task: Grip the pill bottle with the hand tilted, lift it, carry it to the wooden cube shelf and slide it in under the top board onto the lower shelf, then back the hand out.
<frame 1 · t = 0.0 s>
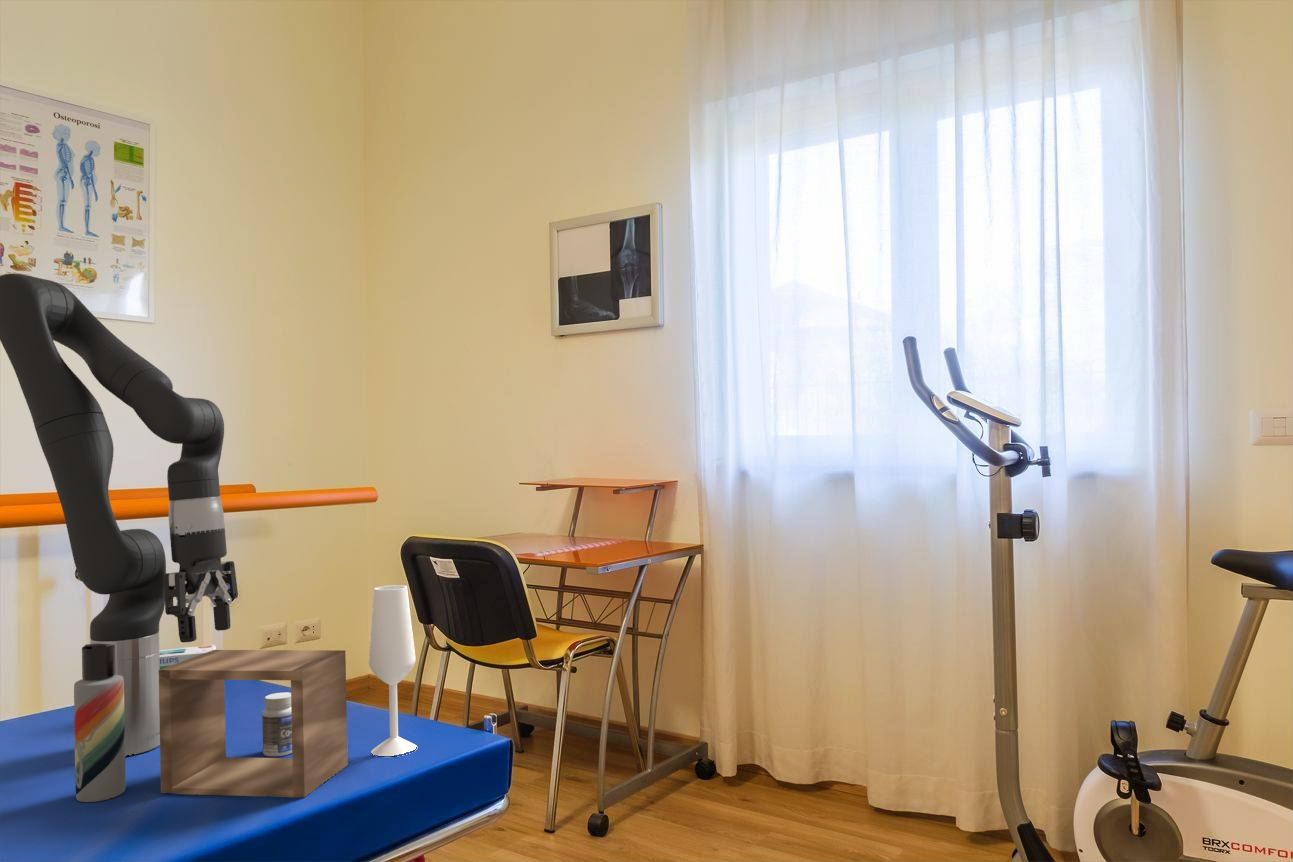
hand: (206, 635, 139), 17 cm above the table, tool pointing down, fingers open, 8 cm apart
light bulb box: (182, 714, 160), on the table
lotion bottle: (101, 796, 122), on the table
champagne flute: (394, 751, 137), on the table
pill bottle: (280, 753, 137), on the table
wooden cube shelf: (257, 778, 126), on the table
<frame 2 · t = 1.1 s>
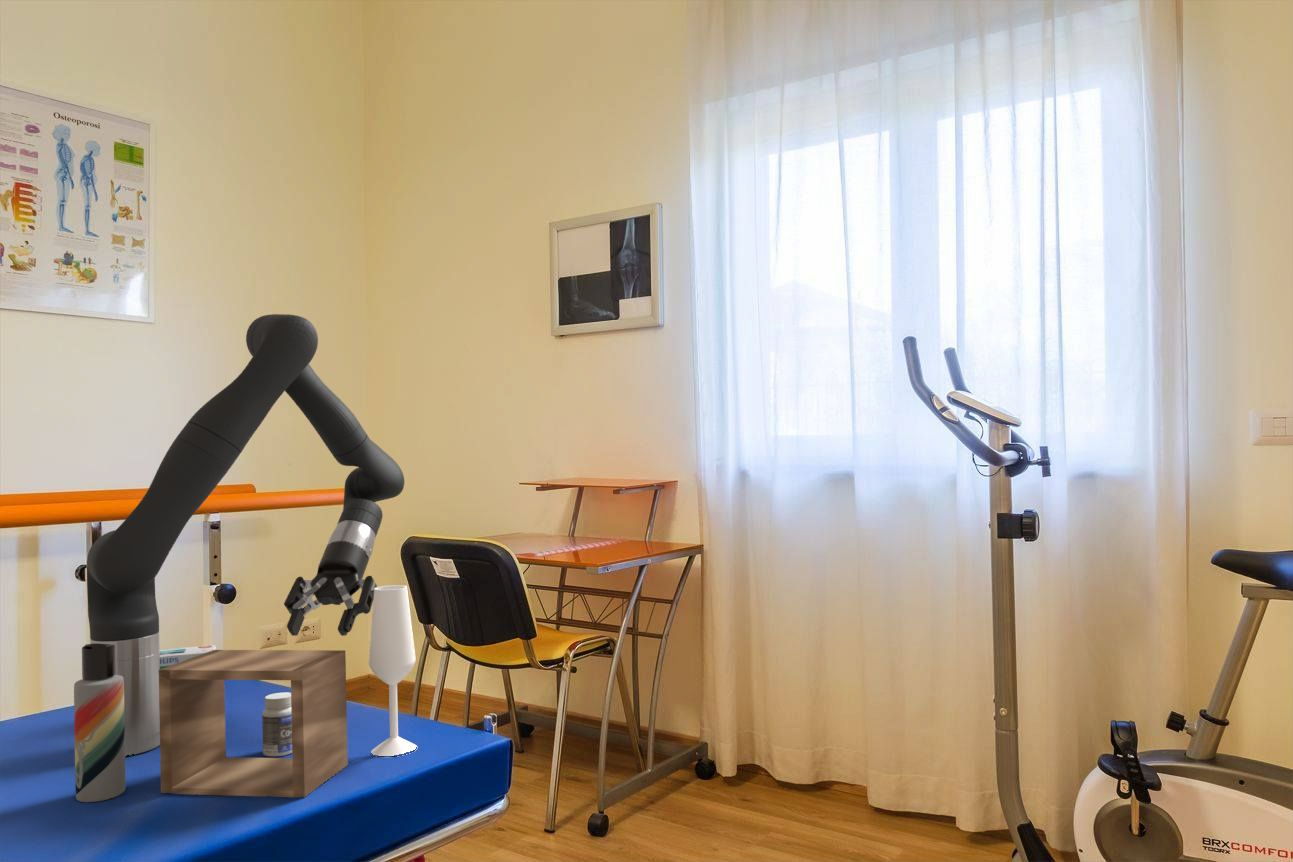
hand: (317, 633, 149), 15 cm above the table, tool tilted 45°, fingers open, 8 cm apart
nothing on the table moved.
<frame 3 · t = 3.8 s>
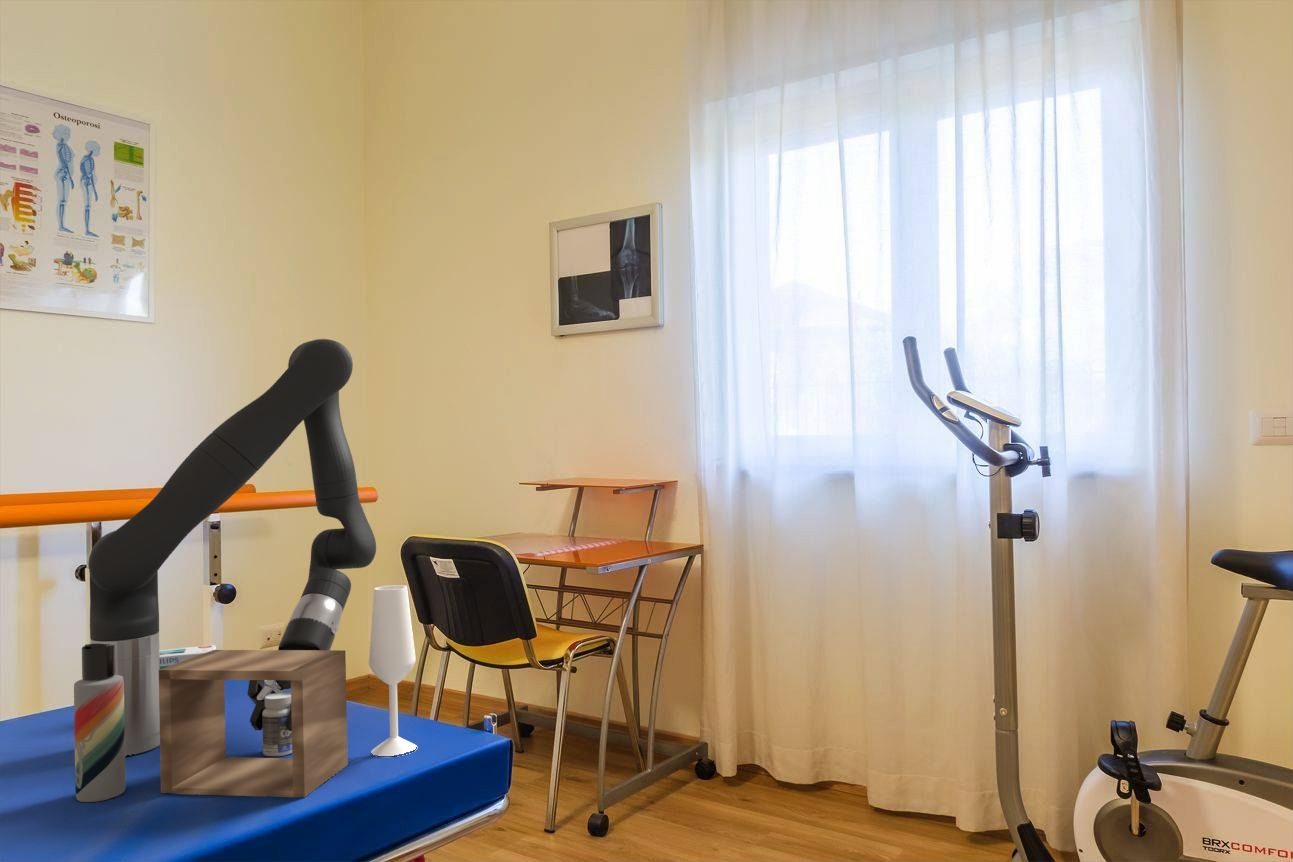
hand: (272, 727, 135), 4 cm above the table, tool tilted 45°, fingers closed on pill bottle, 4 cm apart
pill bottle: (280, 753, 137), on the table, touching gripper
everything else where it was.
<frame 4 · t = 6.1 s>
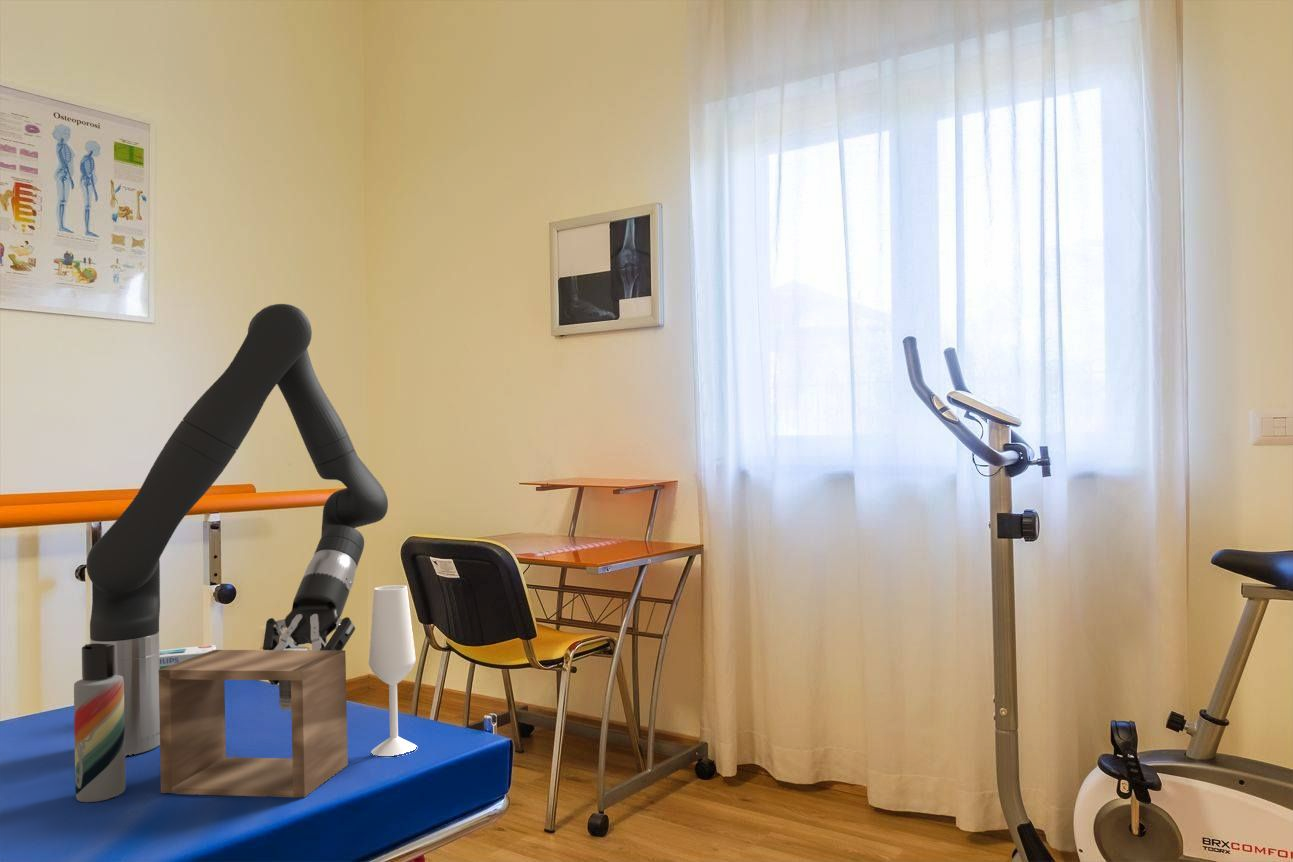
hand: (289, 681, 134), 11 cm above the table, tool tilted 45°, fingers closed on pill bottle, 4 cm apart
pill bottle: (297, 707, 136), point 7 cm above the table, touching gripper
everything else where it was.
when the fingers open (6 cm above the table, at t = 8.6 s): pill bottle stays where it is, resting on wooden cube shelf.
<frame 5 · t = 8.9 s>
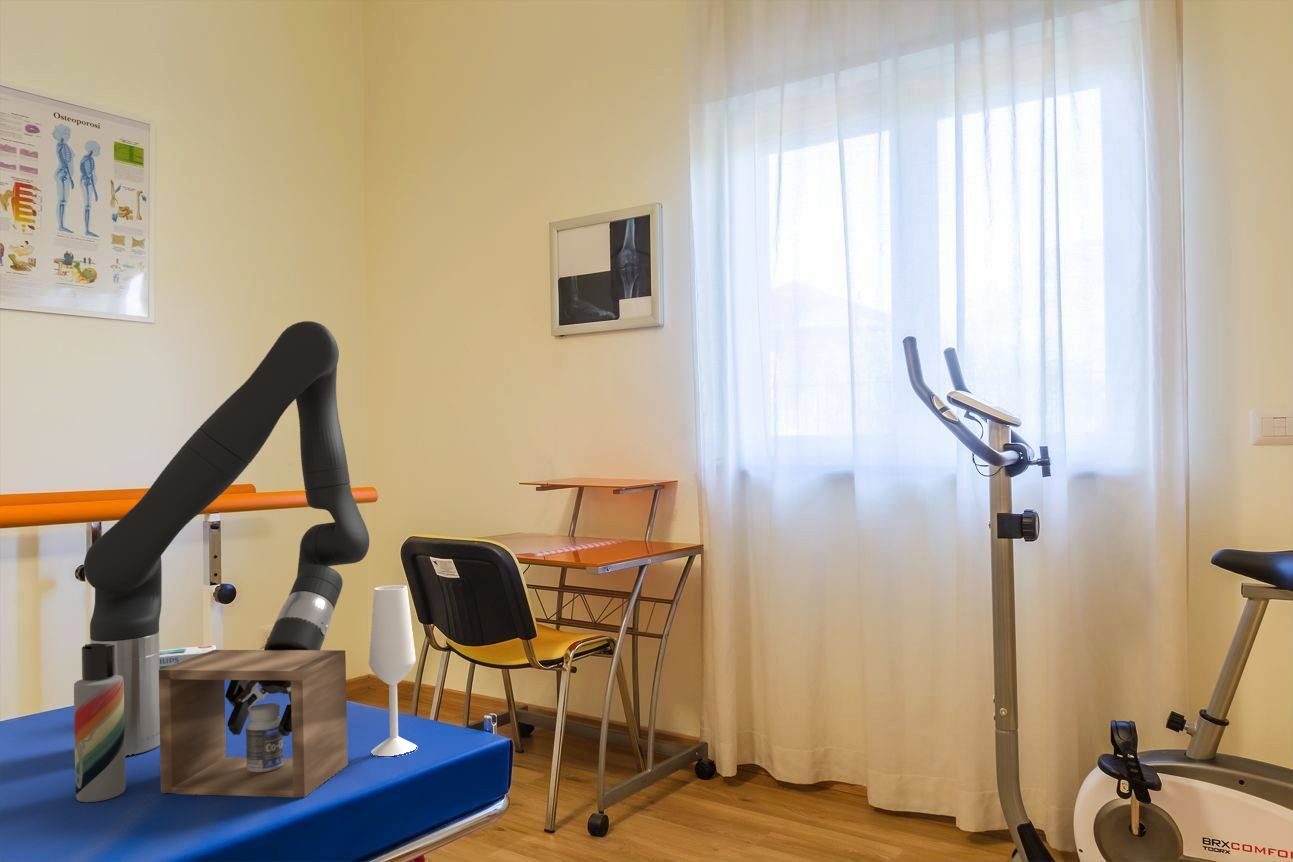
hand: (258, 732, 126), 6 cm above the table, tool tilted 45°, fingers open, 6 cm apart
pill bottle: (265, 768, 128), point 1 cm above the table, touching wooden cube shelf
everything else where it was.
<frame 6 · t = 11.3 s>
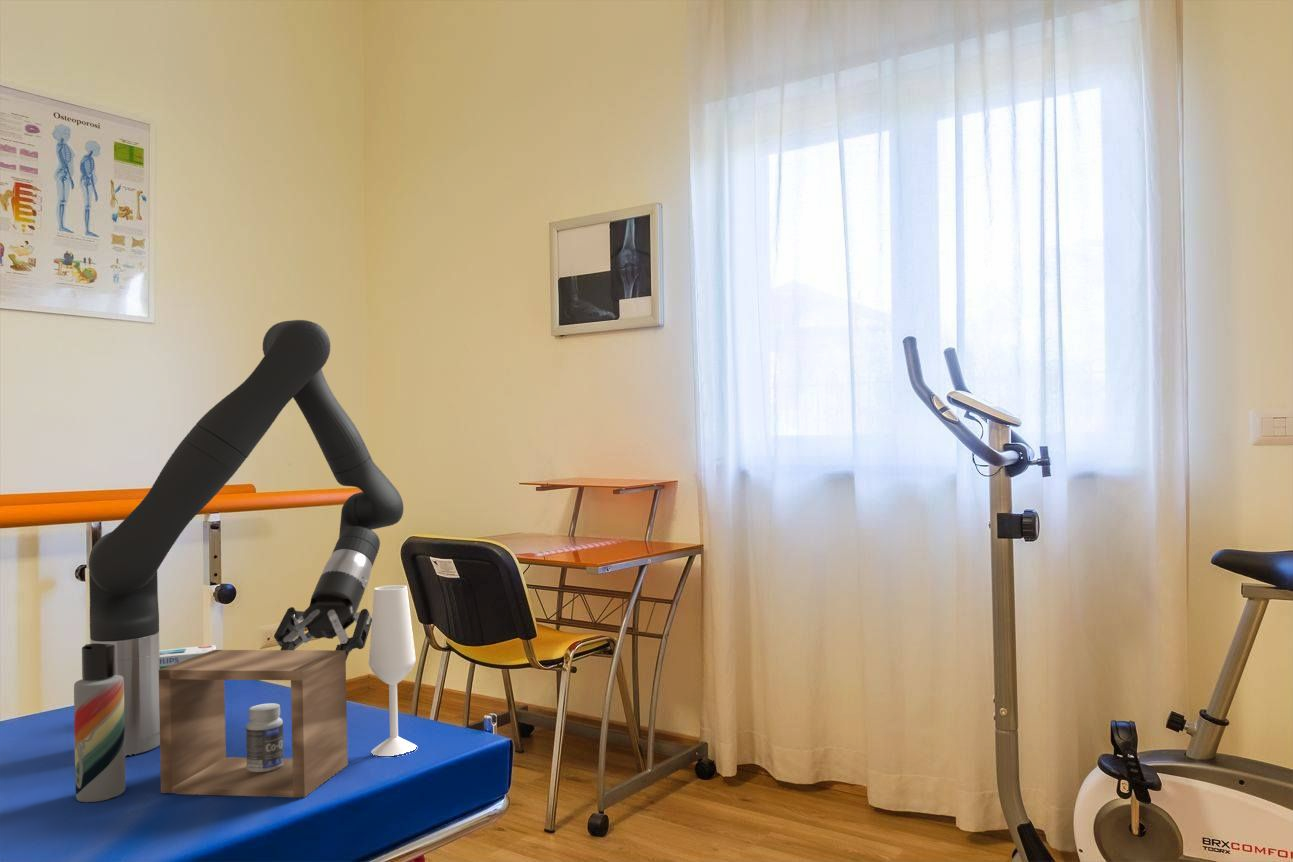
hand: (307, 668, 142), 11 cm above the table, tool tilted 45°, fingers open, 8 cm apart
nothing on the table moved.
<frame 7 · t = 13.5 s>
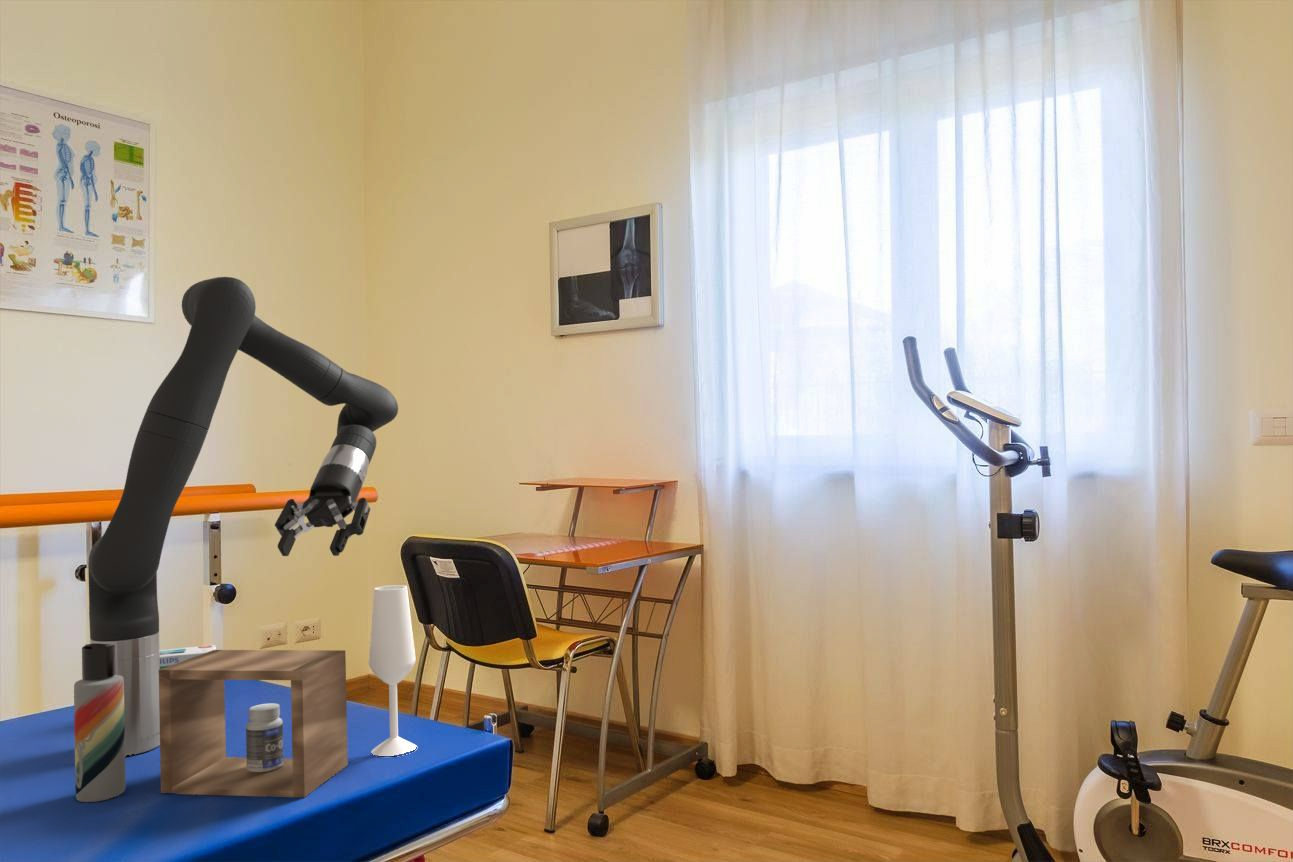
hand: (308, 552, 145), 29 cm above the table, tool tilted 45°, fingers open, 8 cm apart
nothing on the table moved.
at the end: pill bottle inside the target area on the wooden cube shelf (3.0 cm from its centre), point 0.6 cm above the wooden cube shelf's base; pill bottle tilted 0°; the gripper is holding nothing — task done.
